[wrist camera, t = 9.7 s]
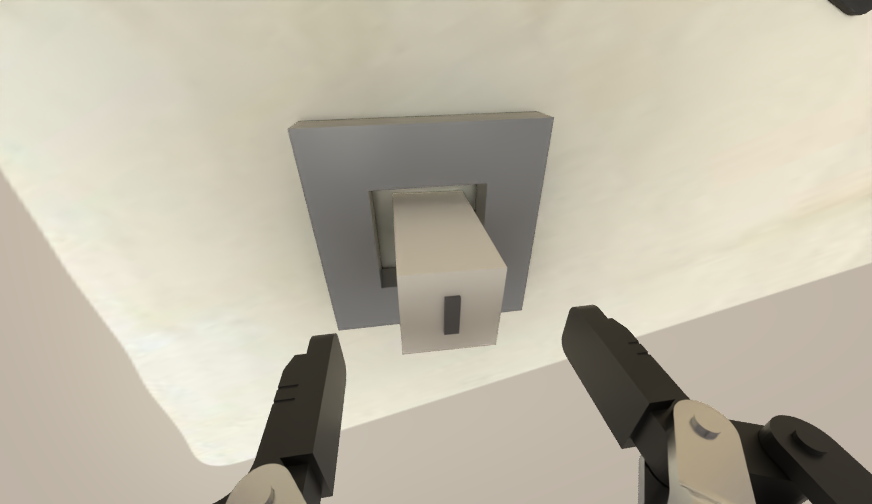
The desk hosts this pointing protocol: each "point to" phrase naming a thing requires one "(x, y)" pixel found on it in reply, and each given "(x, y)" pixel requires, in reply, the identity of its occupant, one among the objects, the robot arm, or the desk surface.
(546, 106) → the desk surface
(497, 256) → the charger
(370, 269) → the socket plate
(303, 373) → the robot arm
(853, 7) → the smartphone
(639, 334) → the desk surface
